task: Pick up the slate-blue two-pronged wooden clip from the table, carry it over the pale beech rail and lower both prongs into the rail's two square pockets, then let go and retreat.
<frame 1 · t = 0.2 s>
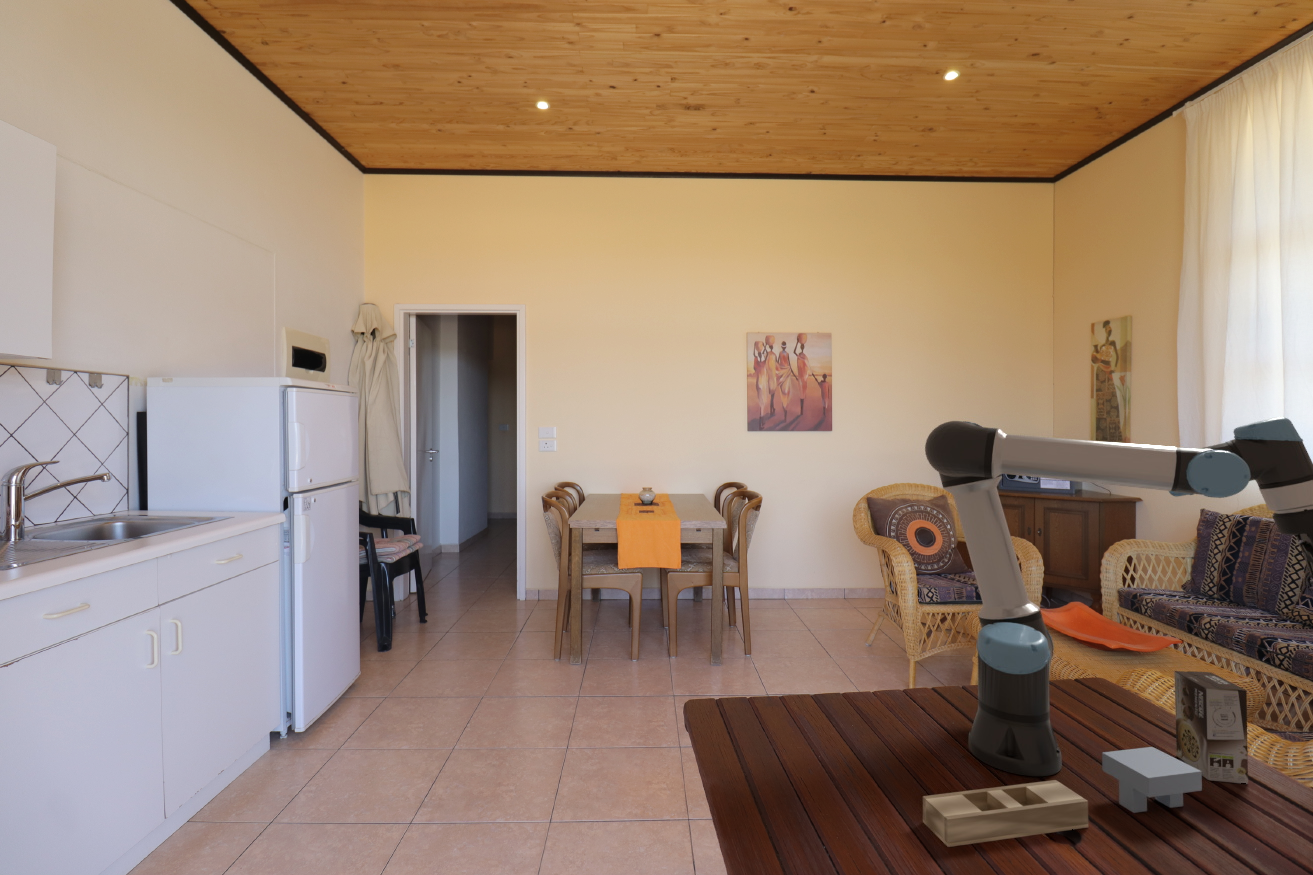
clip: (1151, 804, 100), on the table
rail: (1005, 824, 95), on the table
coffee box: (1210, 770, 110), on the table
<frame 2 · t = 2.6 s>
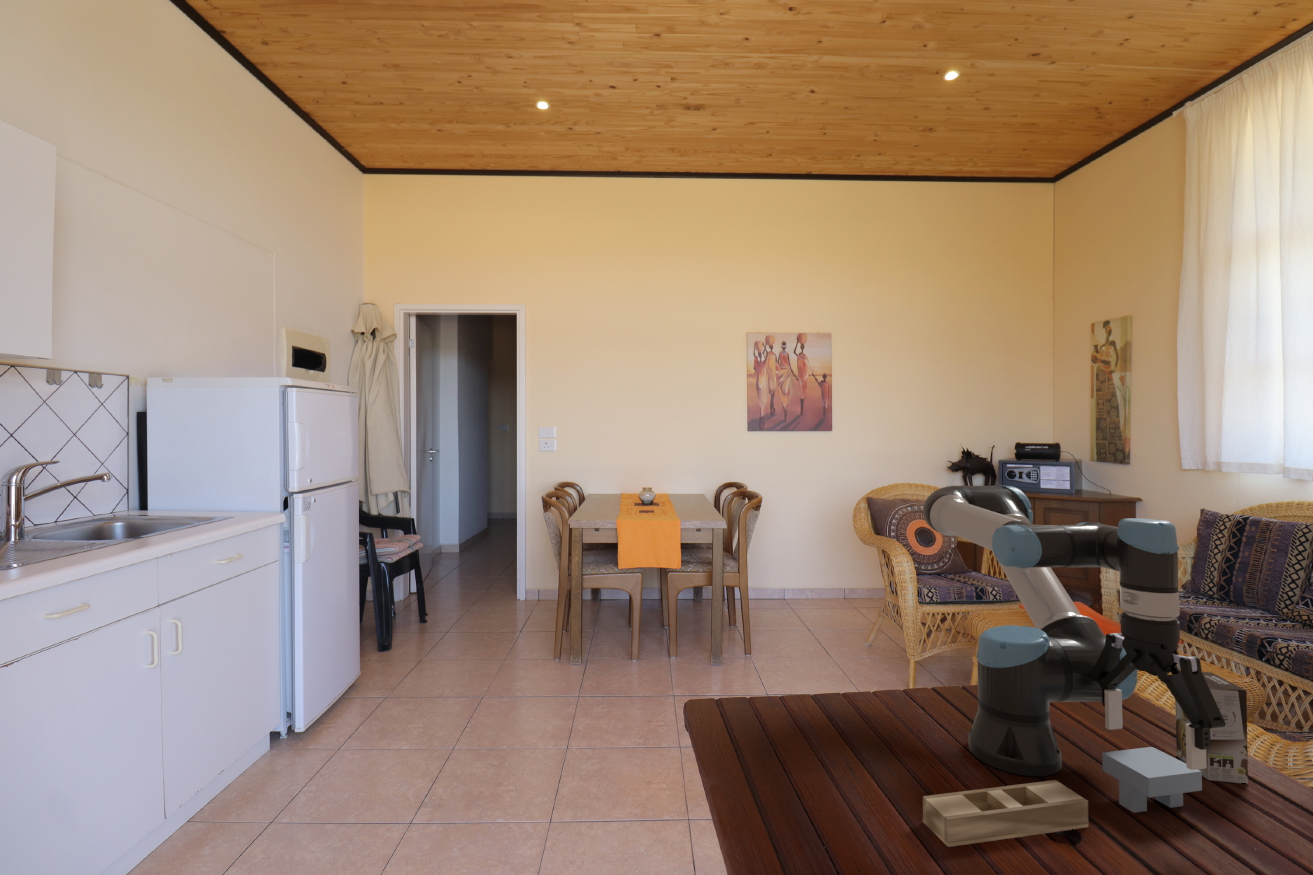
hand: (1152, 746, 99), 10 cm above the table, tool pointing down, fingers open, 13 cm apart
nothing on the table moved.
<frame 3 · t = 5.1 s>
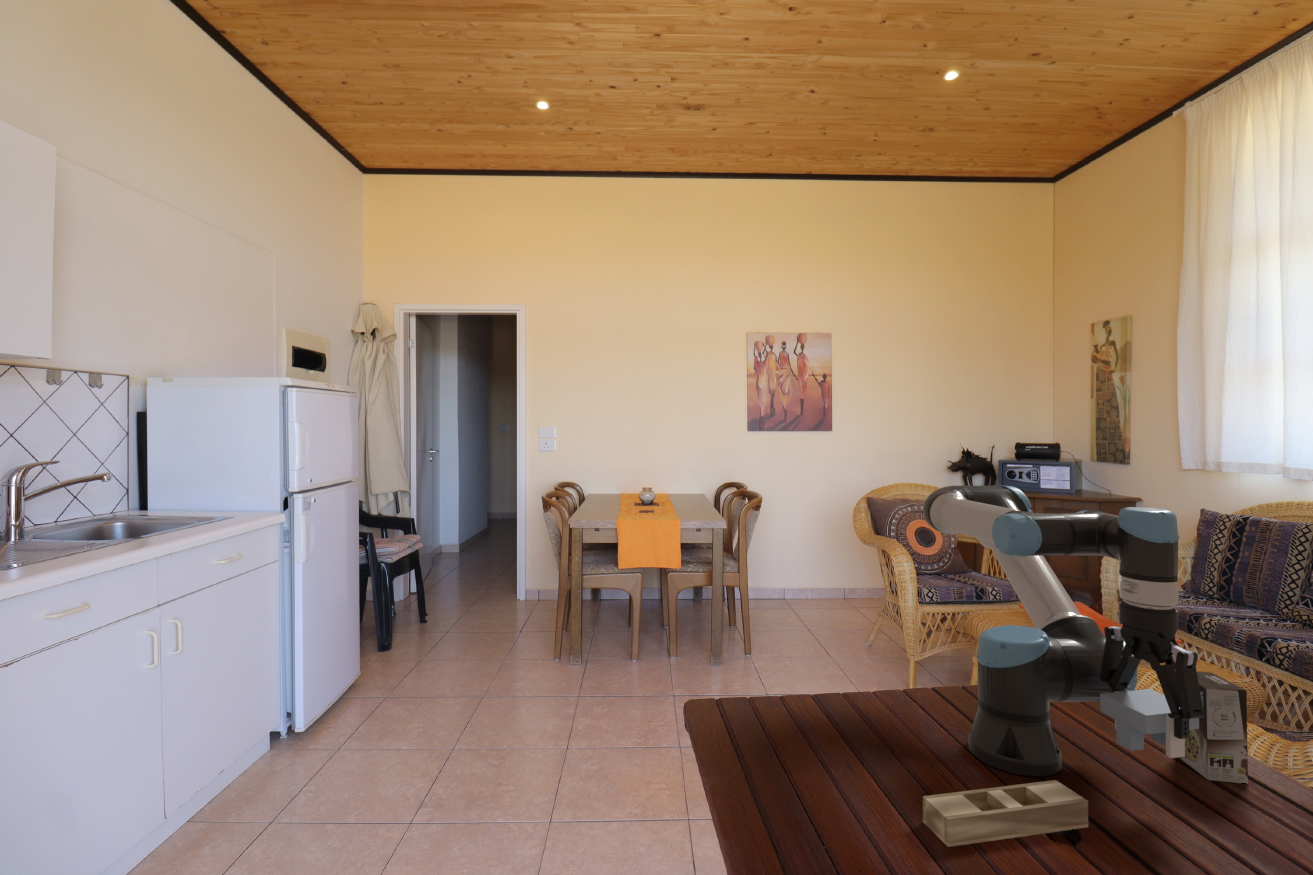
hand: (1148, 742, 100), 10 cm above the table, tool pointing down, fingers closed on clip, 8 cm apart
clip: (1148, 743, 100), point 10 cm above the table, touching gripper
everything else where it was.
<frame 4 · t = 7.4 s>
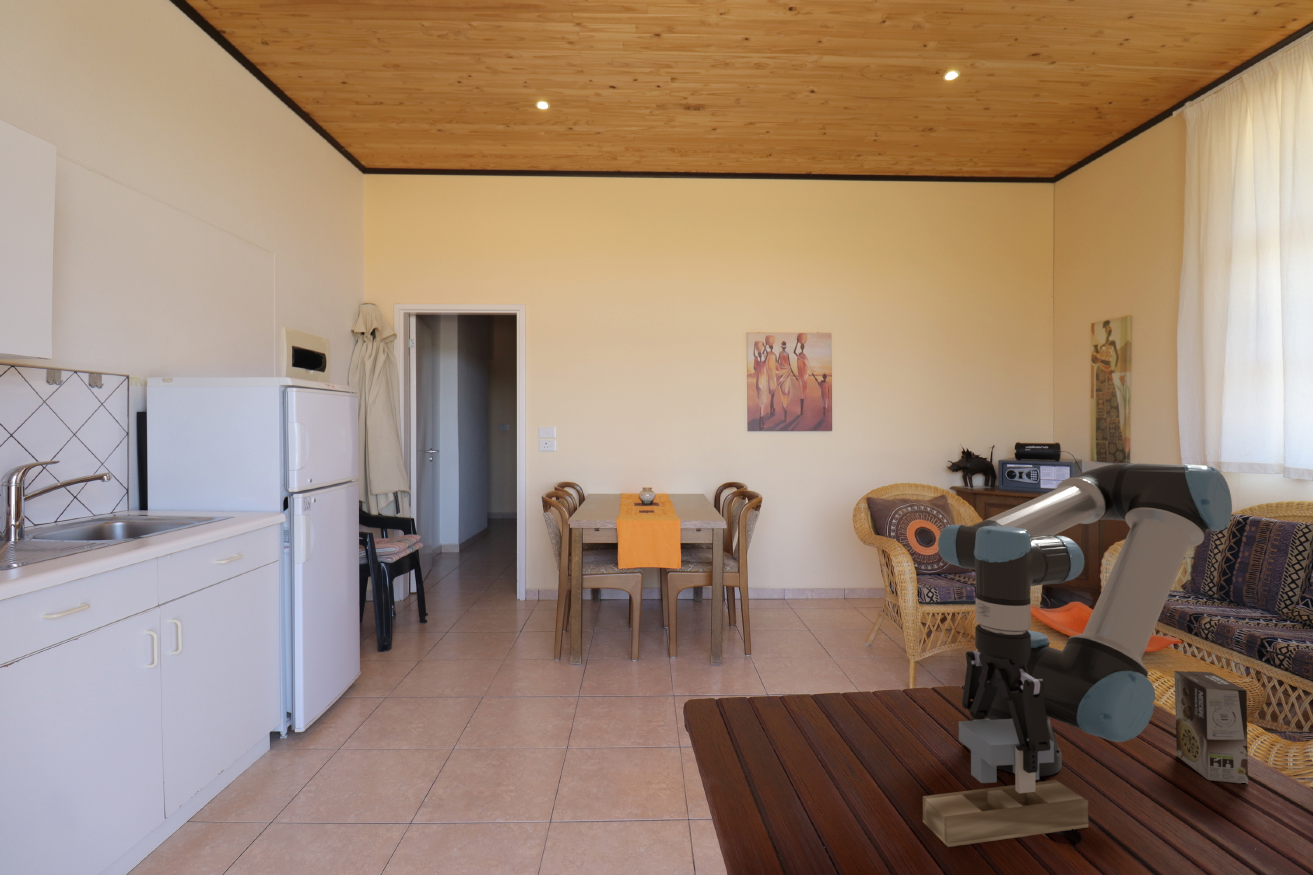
hand: (1003, 774, 95), 8 cm above the table, tool pointing down, fingers closed on clip, 8 cm apart
clip: (1004, 776, 95), point 7 cm above the table, touching gripper
everything else where it was.
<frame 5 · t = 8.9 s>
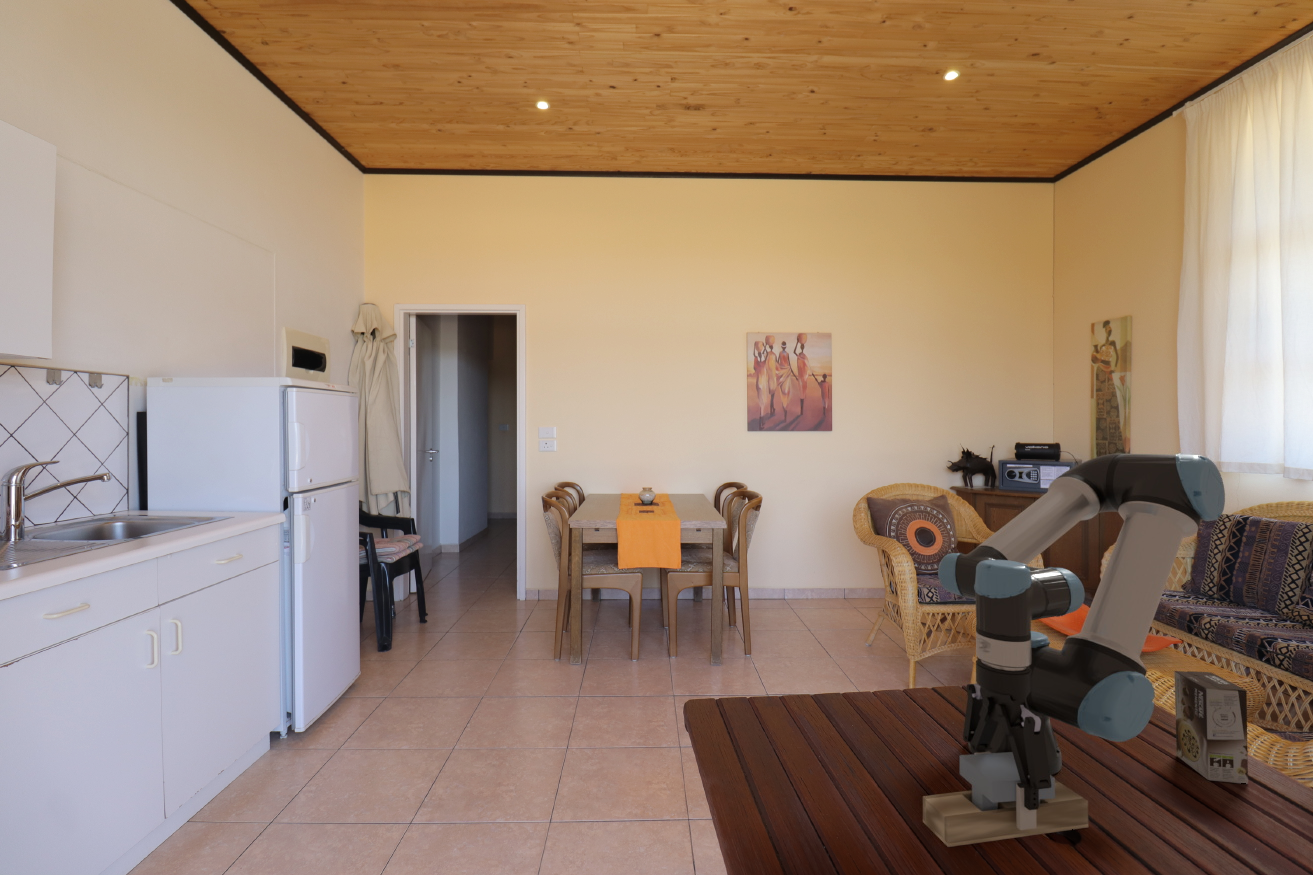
hand: (1004, 809, 95), 2 cm above the table, tool pointing down, fingers closed on clip, 8 cm apart
clip: (1006, 811, 95), point 2 cm above the table, touching gripper
everything else where it was.
when the fingers open (1 cm above the table, at t = 9.8 s): clip stays where it is, resting on rail.
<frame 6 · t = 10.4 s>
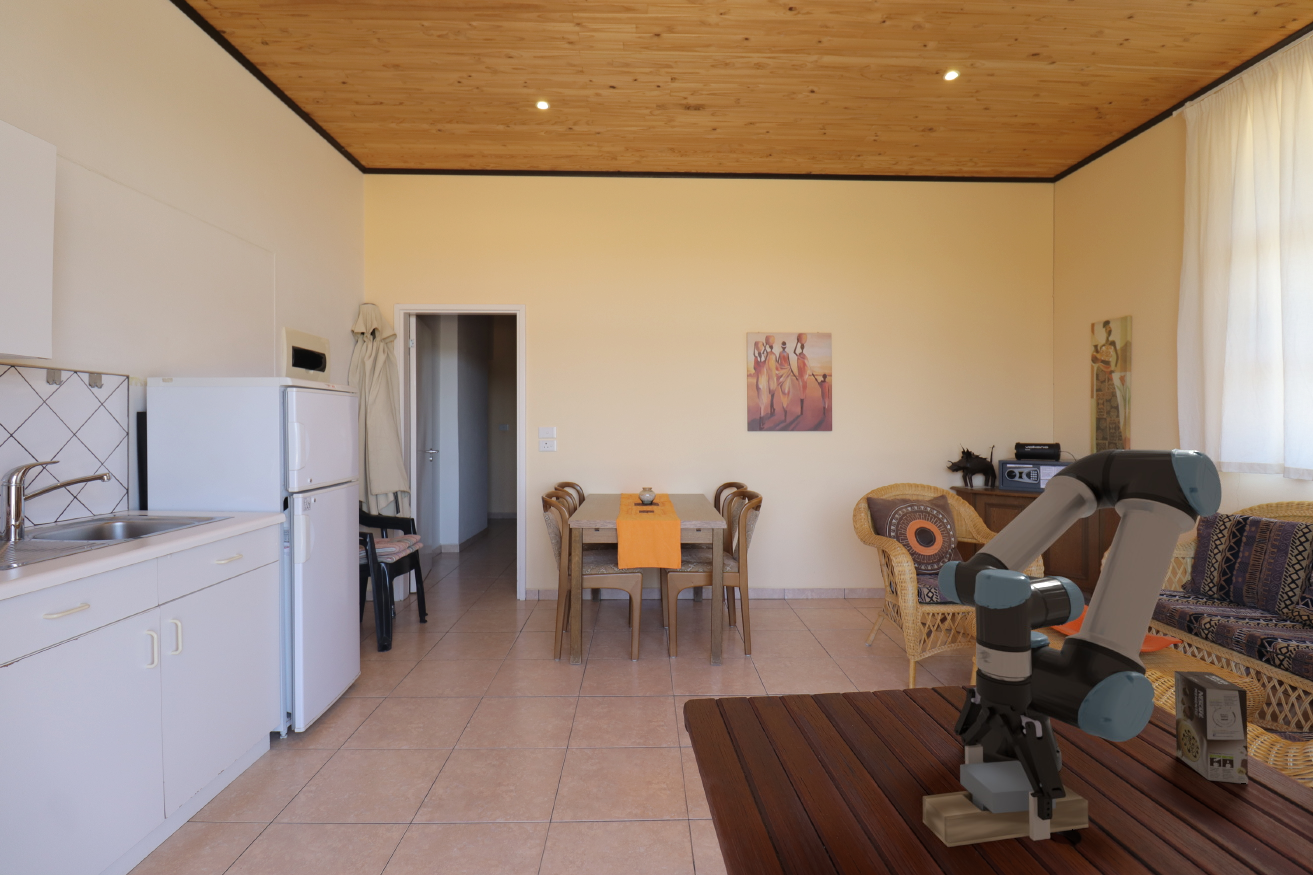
hand: (1004, 810, 95), 2 cm above the table, tool pointing down, fingers open, 13 cm apart
clip: (1006, 821, 95), resting on rail
everything else where it was.
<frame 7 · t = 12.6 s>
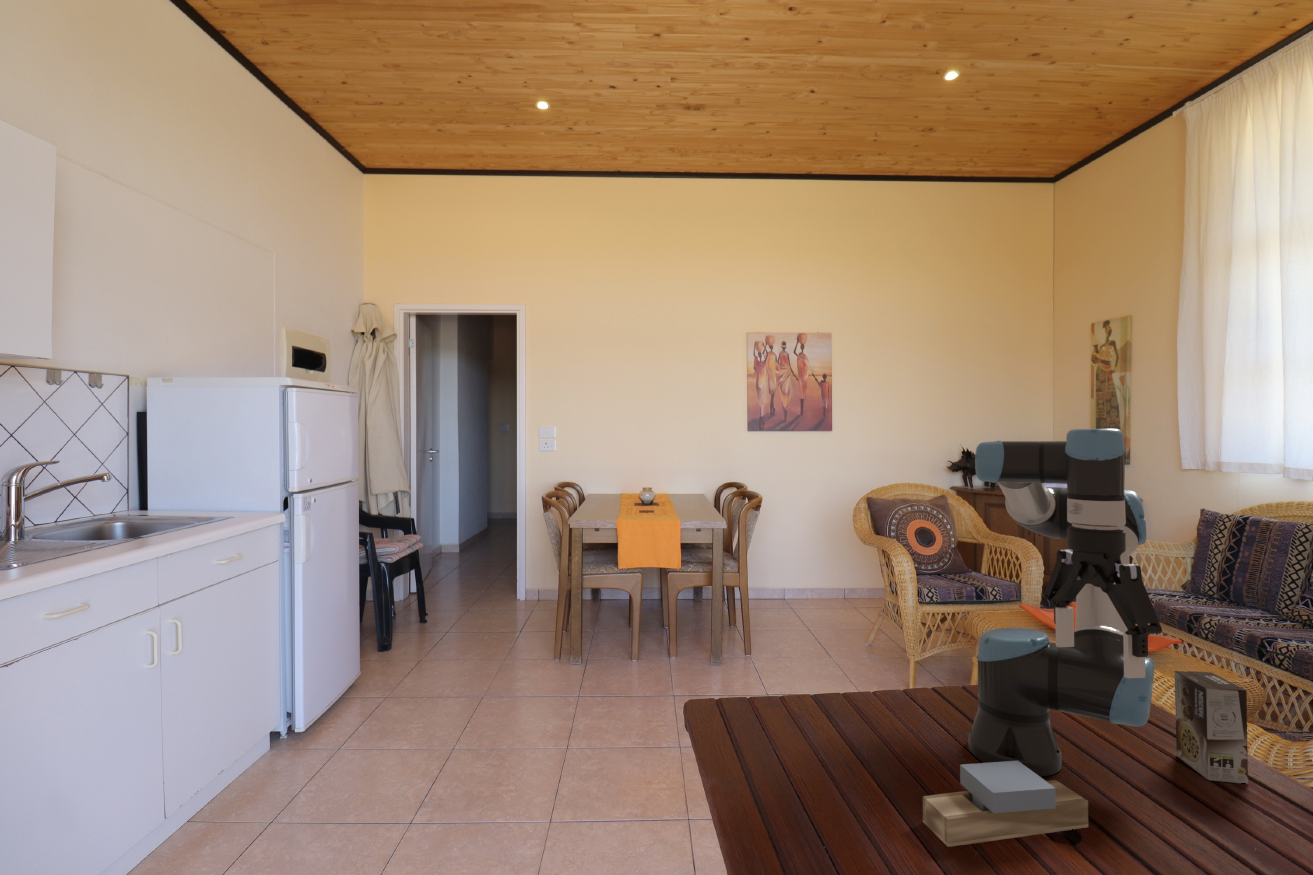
hand: (1097, 660, 97), 24 cm above the table, tool pointing down, fingers open, 13 cm apart
nothing on the table moved.
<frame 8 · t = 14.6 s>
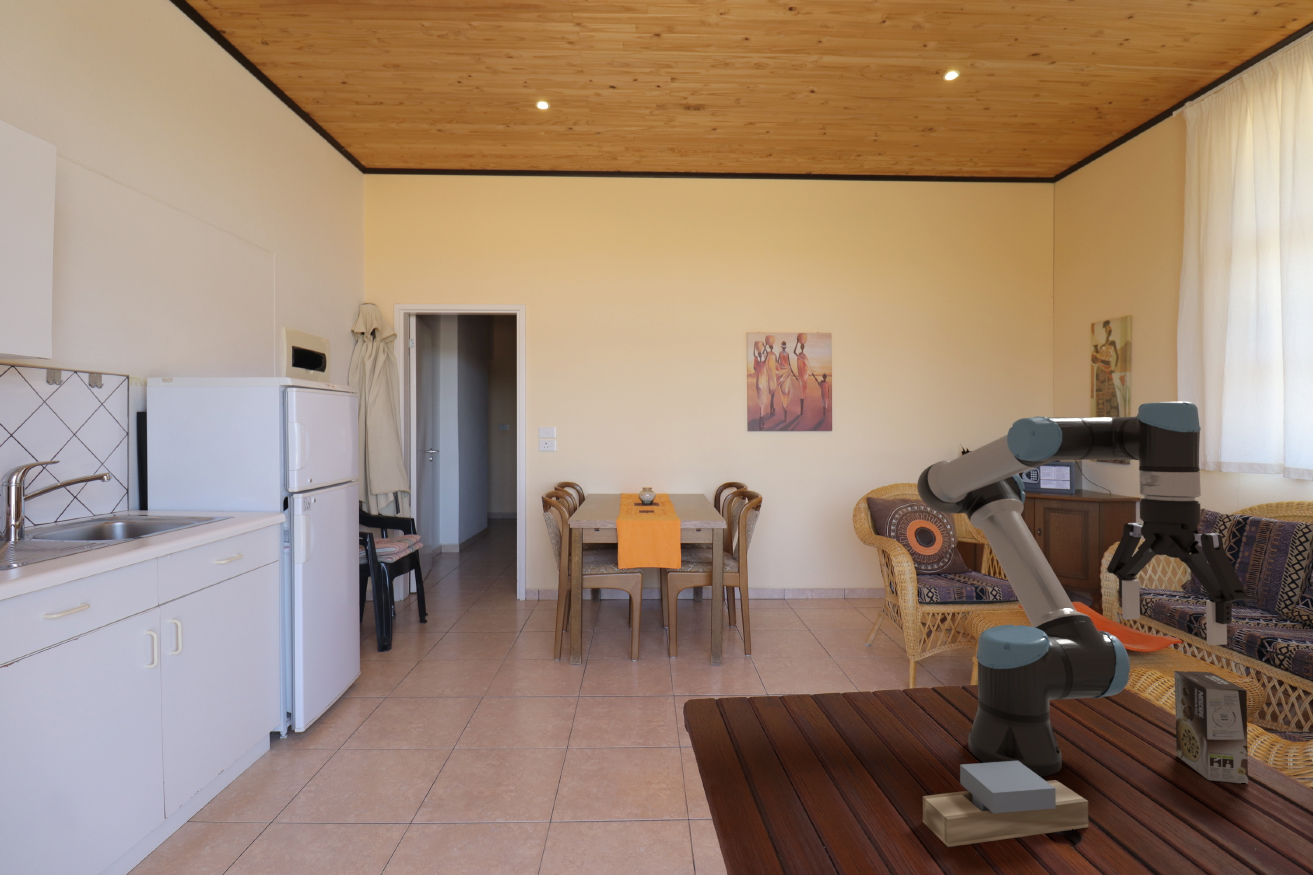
hand: (1171, 630, 98), 29 cm above the table, tool pointing down, fingers open, 13 cm apart
nothing on the table moved.
at the end: clip 0.2 cm off-centre on the rail, point 0.5 cm above the rail's base; the gripper is holding nothing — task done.
